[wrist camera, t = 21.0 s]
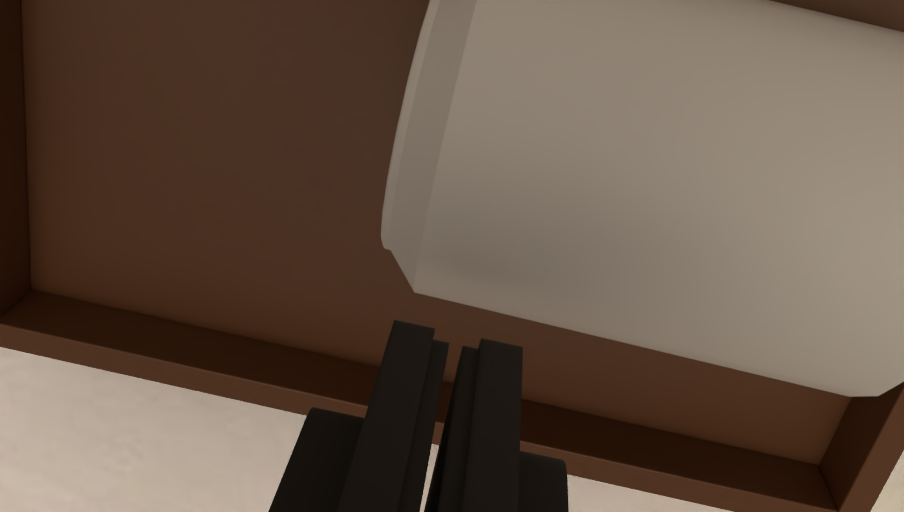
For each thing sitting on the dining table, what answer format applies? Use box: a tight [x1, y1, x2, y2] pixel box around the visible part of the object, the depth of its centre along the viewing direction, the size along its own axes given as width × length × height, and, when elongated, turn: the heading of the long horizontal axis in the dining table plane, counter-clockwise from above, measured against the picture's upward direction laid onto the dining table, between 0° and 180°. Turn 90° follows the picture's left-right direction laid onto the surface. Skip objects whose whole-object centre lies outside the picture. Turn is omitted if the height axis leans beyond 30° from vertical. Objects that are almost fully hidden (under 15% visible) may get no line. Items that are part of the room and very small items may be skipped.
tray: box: [0, 0, 904, 512], centre depth 22 cm, size 26×17×3 cm, turn 79°
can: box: [381, 0, 904, 397], centre depth 18 cm, size 8×8×12 cm
